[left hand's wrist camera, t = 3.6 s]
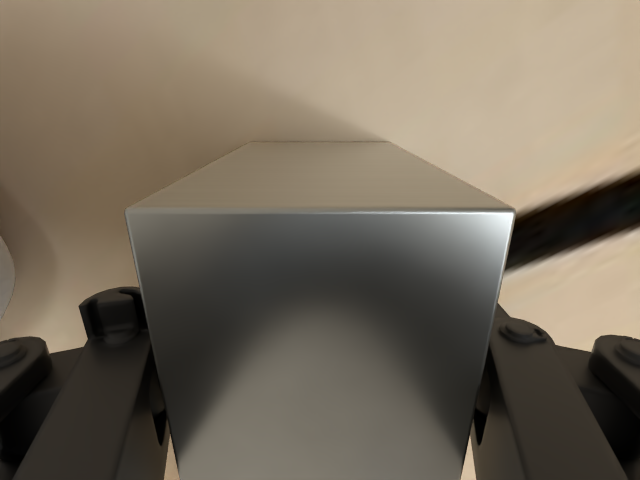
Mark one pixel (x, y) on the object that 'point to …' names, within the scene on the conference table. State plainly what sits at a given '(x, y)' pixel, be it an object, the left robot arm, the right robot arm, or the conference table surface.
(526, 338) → the left robot arm
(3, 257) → the projector
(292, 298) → the bar
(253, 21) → the conference table surface
